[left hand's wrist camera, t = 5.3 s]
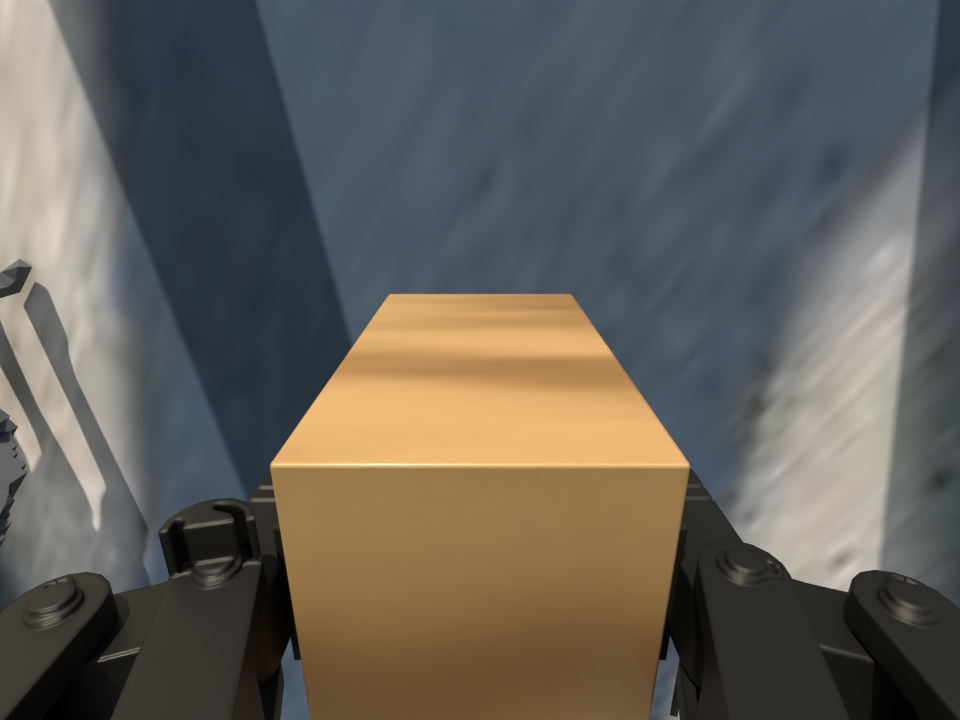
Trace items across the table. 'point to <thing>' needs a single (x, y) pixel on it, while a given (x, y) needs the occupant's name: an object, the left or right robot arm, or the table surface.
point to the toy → (3, 469)
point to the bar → (480, 519)
